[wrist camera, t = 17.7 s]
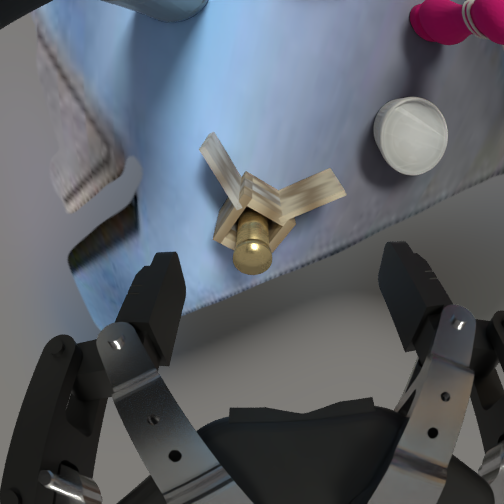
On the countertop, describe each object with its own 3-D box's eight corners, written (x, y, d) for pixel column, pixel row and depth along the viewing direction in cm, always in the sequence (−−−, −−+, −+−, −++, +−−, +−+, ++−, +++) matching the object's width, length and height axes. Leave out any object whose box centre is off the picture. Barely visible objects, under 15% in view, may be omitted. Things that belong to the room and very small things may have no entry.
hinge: (177, 189, 44) (163, 213, 37) (228, 103, 36) (221, 111, 30) (275, 242, 49) (278, 273, 42) (333, 170, 42) (348, 192, 35)
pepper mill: (418, 48, 29) (514, 58, 13) (398, 5, 26) (488, -15, 9) (452, 40, 27) (548, 52, 11) (434, -2, 24) (526, -12, 7)
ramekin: (427, 90, 33) (446, 96, 29) (432, 158, 39) (449, 170, 35) (361, 96, 35) (374, 101, 31) (371, 168, 41) (384, 181, 37)
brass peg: (233, 208, 46) (225, 264, 34) (248, 185, 43) (245, 237, 32) (257, 221, 47) (258, 280, 35) (273, 200, 45) (279, 254, 33)
